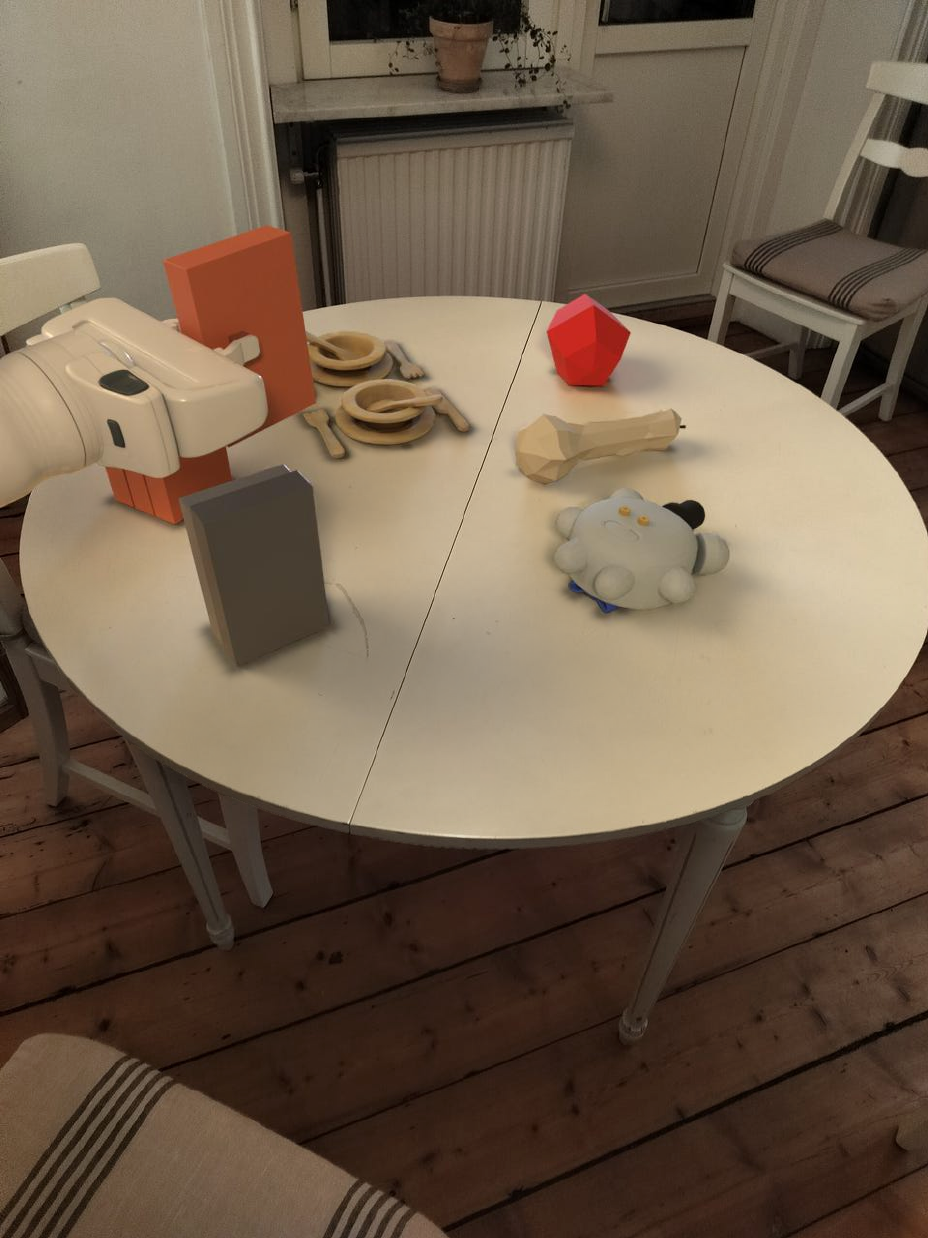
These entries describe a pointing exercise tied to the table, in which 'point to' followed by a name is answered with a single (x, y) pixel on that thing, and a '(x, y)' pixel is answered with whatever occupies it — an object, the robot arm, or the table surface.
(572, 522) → the figurine
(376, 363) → the tableware set
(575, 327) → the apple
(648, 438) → the faceted club
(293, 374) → the terracotta book
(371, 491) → the table surface
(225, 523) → the grey books
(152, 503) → the matching books
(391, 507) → the table surface
